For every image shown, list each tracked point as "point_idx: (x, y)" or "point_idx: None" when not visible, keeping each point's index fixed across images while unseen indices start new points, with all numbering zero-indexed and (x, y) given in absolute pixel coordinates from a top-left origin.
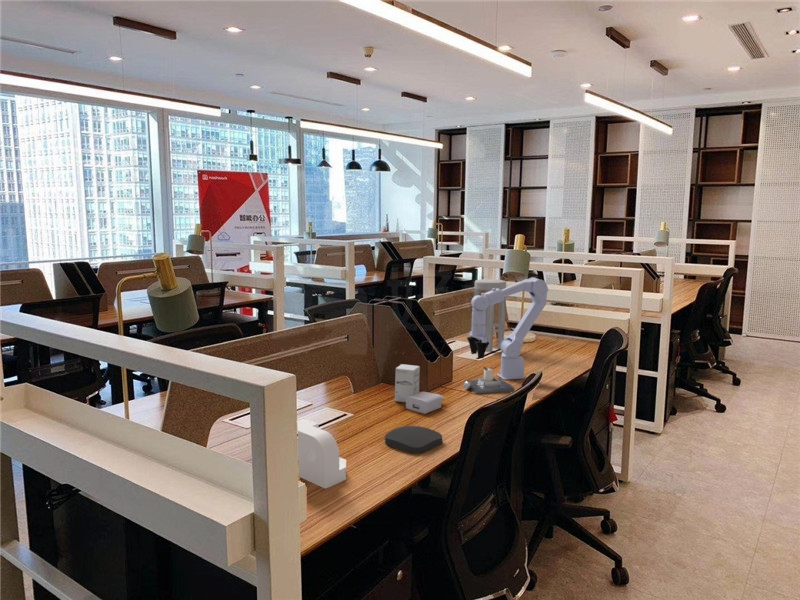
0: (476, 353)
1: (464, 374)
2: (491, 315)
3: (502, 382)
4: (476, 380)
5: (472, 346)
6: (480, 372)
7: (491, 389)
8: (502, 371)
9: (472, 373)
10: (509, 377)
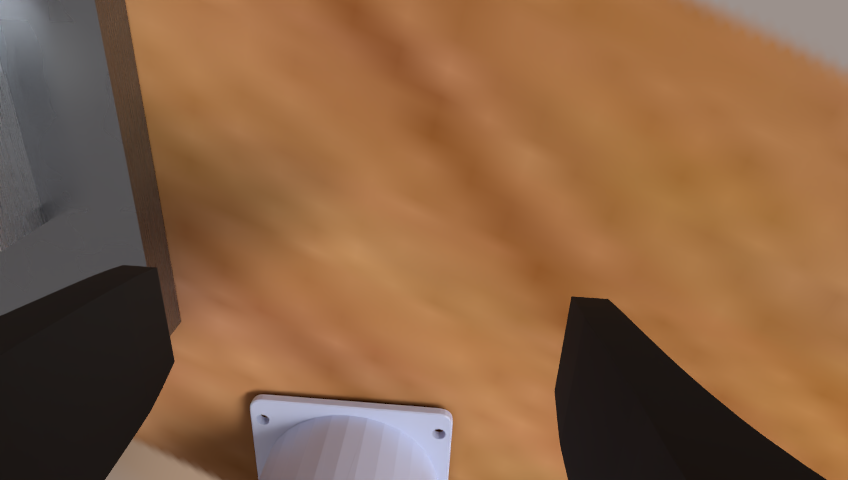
0: (557, 398)
1: (610, 63)
2: None
3: (4, 300)
4: (82, 26)
5: (627, 457)
6: (616, 303)
7: None
8: (314, 460)
9: (613, 193)
10: (268, 454)
